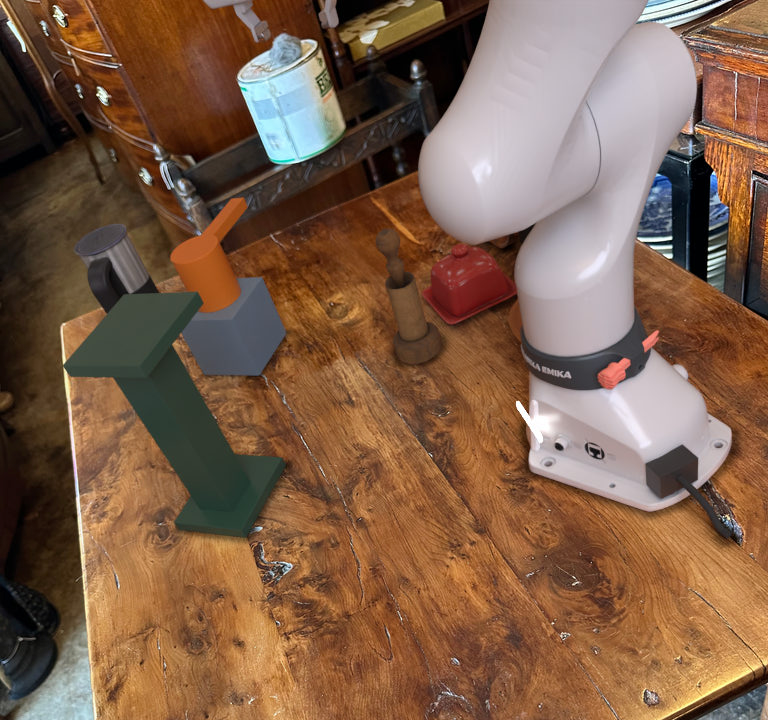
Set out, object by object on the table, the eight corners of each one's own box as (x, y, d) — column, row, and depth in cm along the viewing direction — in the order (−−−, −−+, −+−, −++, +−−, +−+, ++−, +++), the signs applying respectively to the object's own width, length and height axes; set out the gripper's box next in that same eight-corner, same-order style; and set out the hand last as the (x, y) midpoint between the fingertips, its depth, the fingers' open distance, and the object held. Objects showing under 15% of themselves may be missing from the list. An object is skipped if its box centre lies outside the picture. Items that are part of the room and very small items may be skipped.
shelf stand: (222, 460, 104) (123, 294, 86) (286, 465, 100) (198, 291, 82) (178, 530, 98) (61, 365, 79) (246, 538, 93) (139, 366, 75)
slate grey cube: (232, 333, 125) (206, 279, 118) (286, 333, 121) (262, 276, 114) (203, 375, 119) (173, 320, 112) (259, 375, 115) (231, 319, 108)
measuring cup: (238, 246, 122) (217, 198, 117) (277, 243, 119) (257, 194, 114) (187, 313, 113) (161, 264, 107) (227, 312, 110) (203, 262, 104)
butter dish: (419, 298, 117) (405, 247, 111) (489, 266, 118) (478, 213, 112) (451, 334, 109) (437, 281, 103) (525, 299, 110) (516, 245, 104)
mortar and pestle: (438, 362, 106) (405, 242, 93) (392, 366, 108) (354, 250, 95) (445, 331, 110) (414, 213, 97) (401, 336, 112) (365, 221, 99)
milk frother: (117, 312, 140) (72, 238, 130) (199, 277, 141) (160, 200, 130) (123, 352, 130) (74, 275, 120) (211, 315, 131) (170, 234, 120)
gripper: (162, -75, 87) (214, 58, 97) (323, -121, 79) (362, 29, 89) (188, -92, 91) (236, 37, 101) (345, -139, 82) (381, 8, 92)
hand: (296, 33), depth 95 cm, fingers open, 8 cm apart
